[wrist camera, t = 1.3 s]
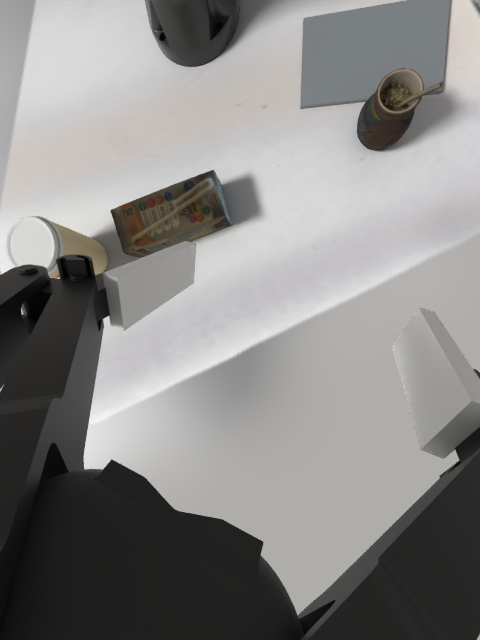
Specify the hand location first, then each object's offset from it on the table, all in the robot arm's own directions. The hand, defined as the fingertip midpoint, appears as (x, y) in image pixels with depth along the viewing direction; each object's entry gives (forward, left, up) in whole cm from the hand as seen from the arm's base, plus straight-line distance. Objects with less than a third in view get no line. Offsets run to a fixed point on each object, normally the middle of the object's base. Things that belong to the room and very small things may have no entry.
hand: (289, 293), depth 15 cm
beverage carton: (-13, -19, -29) cm, 38 cm away
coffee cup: (-7, -38, -29) cm, 49 cm away
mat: (-37, +12, -29) cm, 49 cm away
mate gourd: (-26, +14, -29) cm, 42 cm away
